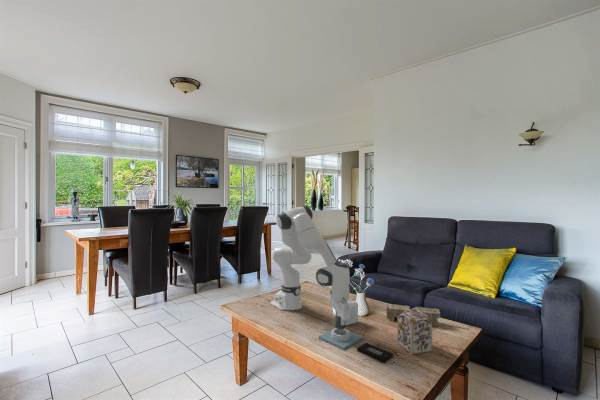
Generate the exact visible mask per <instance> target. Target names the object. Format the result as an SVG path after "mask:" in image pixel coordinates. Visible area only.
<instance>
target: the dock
mask: <svg viewBox="0 0 600 400" xmlns="http://www.w3.org/2000/svg"><path fill="white" fill-rule="evenodd" d="M318 339H319V340H321V341H323V342H326V343H328V344H330V345H332V346H334V347H337V348H338V349H341V350H343V351H345V350H346V349H348V348H349V347H351V346H353V345H355V344H357V343H358V342H360V341H362V340H363V339H364V337H363V336H361V335H359V334H357V333H354V332H351V331H350V330H349V329H347V328H345V329H337V328H336V327H334V328H331V330H329V331H327V332H325V333H324V332H323V334H320V335H318Z"/></svg>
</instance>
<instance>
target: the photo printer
mask: <svg viewBox="0 0 600 400" xmlns="http://www.w3.org/2000/svg"><path fill="white" fill-rule="evenodd" d="M347 302H348V303H349V305H350V320H345V326H349V325H352V324H357V323H358V322H359V303H358V302H357V301H355V300H350V301H349V300H348V301H347Z"/></svg>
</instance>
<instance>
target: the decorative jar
mask: <svg viewBox="0 0 600 400" xmlns="http://www.w3.org/2000/svg"><path fill="white" fill-rule="evenodd" d="M396 331H397V337H396V339H397V341H396V342H397V344H398V345H399V346H401V347H402V348H403V349H405V350H406V352H409V354H410V355H419V354H424V353H429V351H430V352H432V351H433V326H432V322H431V320H430V319H429V317H428V316H427V315H426V314H424V313H422V312H420V311H419V310H417V309H412V308H411V309H410V310H409V311H404V312H403V313H401V314H400V315H399V316H398V322H397V330H396Z"/></svg>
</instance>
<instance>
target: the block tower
mask: <svg viewBox="0 0 600 400" xmlns="http://www.w3.org/2000/svg"><path fill="white" fill-rule="evenodd" d="M410 308H411V307H410V305H400V304H393V303H386V307H385V310H386V319H387V320H388V321H389V322H395V318H396V322H397V323H398V316H399V315H400V314H401V313H403V312H404V311H409V310H410ZM411 309H417V310H419V311H420V312H422V313H424V314H426V315H427V316H428V317H429V319H430V320H431V322H432V327H434V326H438V327H439V325H438V324H439V322H438V320H439V319H440V318H441V312H440V309H439V308H428V307H420V306H415V307H413V308H411Z"/></svg>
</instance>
